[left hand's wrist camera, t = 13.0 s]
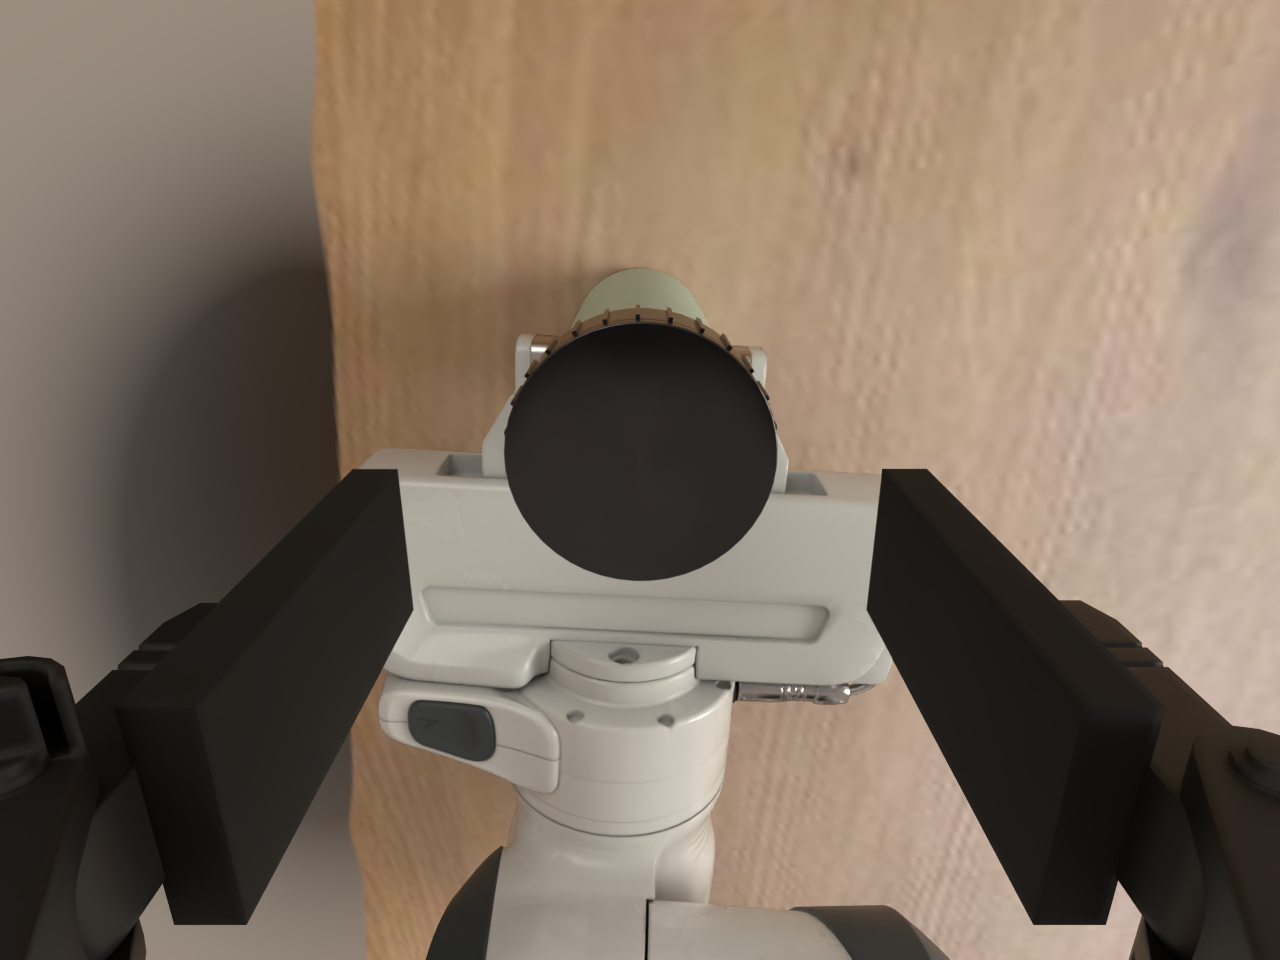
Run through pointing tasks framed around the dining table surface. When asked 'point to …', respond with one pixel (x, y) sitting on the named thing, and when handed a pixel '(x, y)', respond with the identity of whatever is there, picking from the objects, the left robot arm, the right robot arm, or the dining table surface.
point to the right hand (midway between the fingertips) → (640, 342)
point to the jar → (639, 294)
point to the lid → (640, 445)
